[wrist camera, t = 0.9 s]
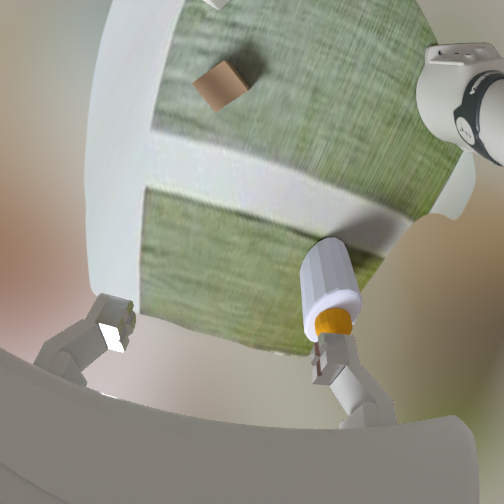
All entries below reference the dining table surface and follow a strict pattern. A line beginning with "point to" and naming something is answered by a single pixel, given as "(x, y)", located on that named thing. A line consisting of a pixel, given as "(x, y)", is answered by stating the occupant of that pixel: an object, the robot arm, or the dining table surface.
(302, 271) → the soap bottle
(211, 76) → the walnut cube
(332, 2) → the dining table surface
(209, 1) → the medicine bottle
